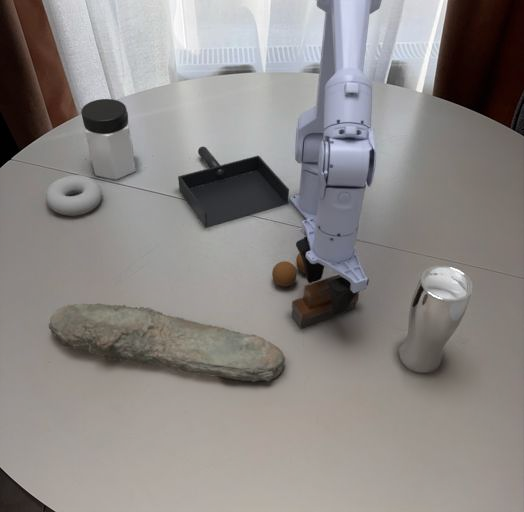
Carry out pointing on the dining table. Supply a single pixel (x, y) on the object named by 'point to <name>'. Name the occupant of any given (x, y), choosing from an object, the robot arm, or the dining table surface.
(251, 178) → the dustpan
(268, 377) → the elongated rock
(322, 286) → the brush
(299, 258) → the cork ball
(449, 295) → the beer glass
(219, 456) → the dining table surface
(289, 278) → the cork ball
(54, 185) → the donut
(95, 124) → the jar
